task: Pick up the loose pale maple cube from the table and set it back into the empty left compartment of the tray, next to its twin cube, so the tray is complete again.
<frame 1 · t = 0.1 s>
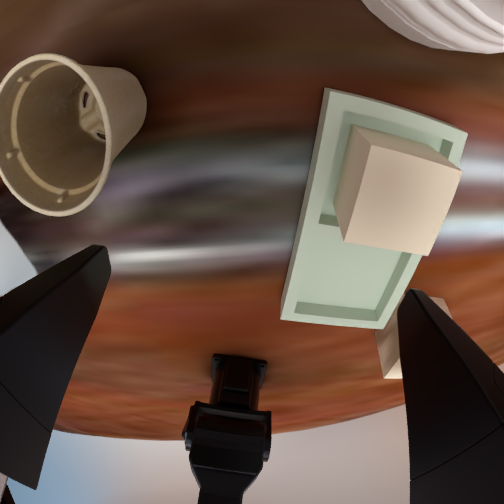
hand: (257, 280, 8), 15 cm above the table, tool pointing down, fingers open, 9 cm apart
flower pot: (113, 105, 20), on the table
maple cube: (408, 315, 29), on the table
tray: (362, 220, 23), on the table
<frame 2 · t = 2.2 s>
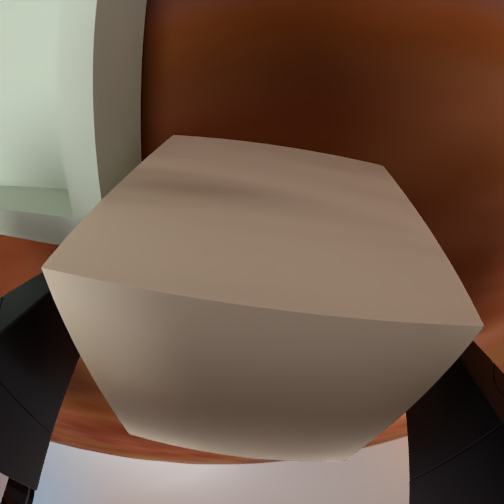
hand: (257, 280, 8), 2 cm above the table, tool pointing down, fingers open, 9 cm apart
maple cube: (266, 235, 10), on the table
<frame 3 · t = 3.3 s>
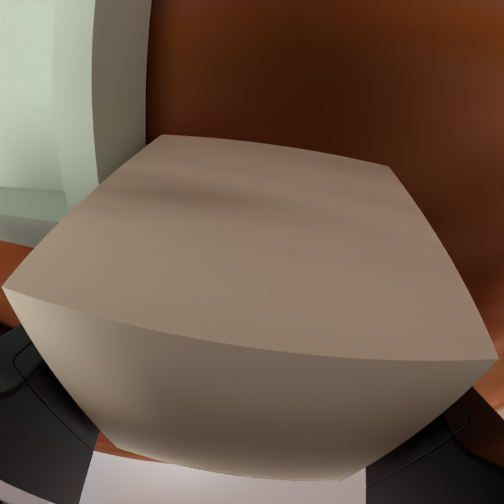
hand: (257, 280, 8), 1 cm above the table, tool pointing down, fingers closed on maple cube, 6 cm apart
maple cube: (262, 241, 9), on the table, touching gripper
when the fingers open (4 cm above the table, at t = 6.4 s): maple cube drops 2 cm, resting on tray.
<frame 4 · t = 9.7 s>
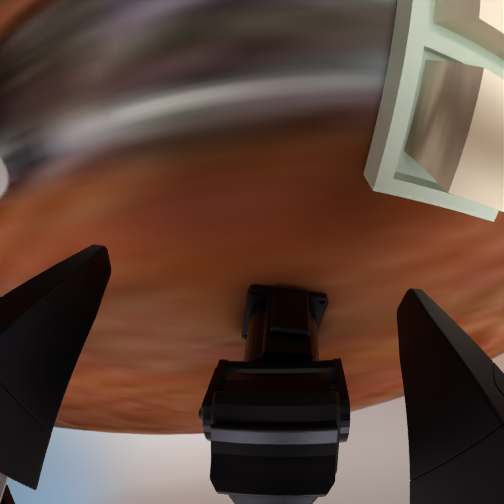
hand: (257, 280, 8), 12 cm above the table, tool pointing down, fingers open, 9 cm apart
maple cube: (455, 120, 14), point 1 cm above the table, touching tray
tray: (461, 61, 13), on the table
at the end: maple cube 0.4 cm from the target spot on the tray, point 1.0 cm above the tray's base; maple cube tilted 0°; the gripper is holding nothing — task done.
